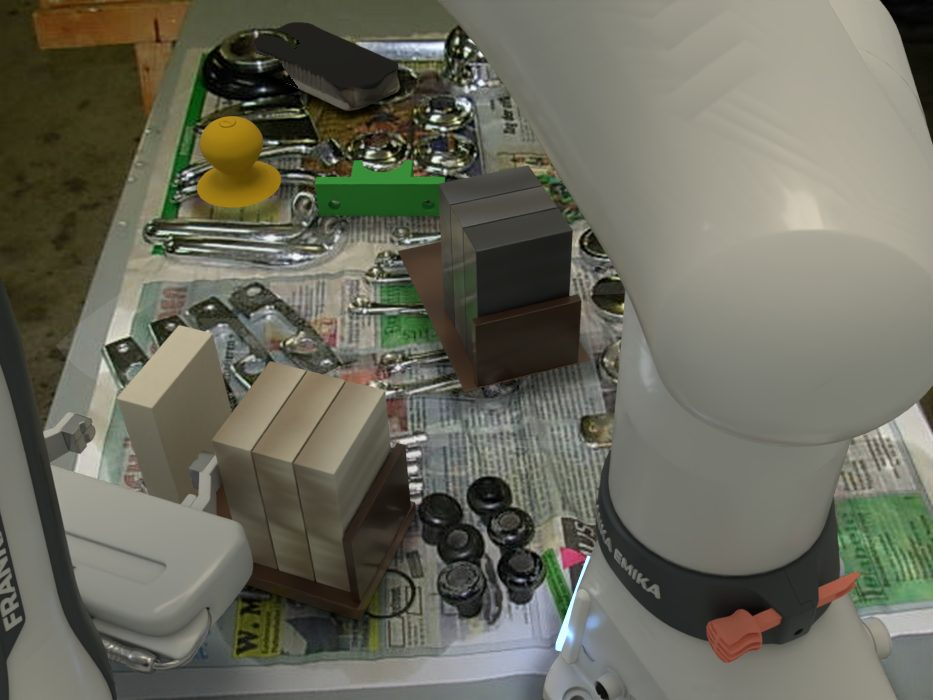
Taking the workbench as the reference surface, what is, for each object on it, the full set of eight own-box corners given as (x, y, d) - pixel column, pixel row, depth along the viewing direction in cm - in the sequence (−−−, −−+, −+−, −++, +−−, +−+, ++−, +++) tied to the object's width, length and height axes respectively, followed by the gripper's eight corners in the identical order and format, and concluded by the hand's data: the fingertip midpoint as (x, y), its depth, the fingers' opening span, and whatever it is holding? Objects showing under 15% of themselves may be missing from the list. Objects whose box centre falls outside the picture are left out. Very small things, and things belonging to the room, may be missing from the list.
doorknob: (238, 160, 107) (302, 185, 103) (179, 201, 102) (244, 228, 98) (224, 91, 102) (291, 114, 98) (162, 130, 97) (230, 156, 93)
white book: (241, 451, 77) (213, 333, 70) (188, 527, 72) (151, 408, 65) (210, 442, 78) (178, 324, 70) (155, 516, 73) (115, 398, 65)
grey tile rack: (590, 371, 84) (600, 234, 75) (464, 403, 82) (459, 265, 73) (509, 237, 97) (509, 107, 88) (398, 261, 94) (387, 130, 86)
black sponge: (248, 73, 119) (242, 42, 117) (307, 45, 124) (302, 13, 121) (353, 125, 111) (349, 92, 108) (412, 92, 116) (410, 60, 113)
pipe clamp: (448, 203, 101) (447, 159, 98) (446, 227, 98) (444, 184, 95) (325, 202, 101) (320, 159, 98) (320, 226, 98) (314, 183, 95)
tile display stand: (416, 513, 74) (405, 381, 66) (360, 621, 68) (340, 491, 60) (207, 454, 78) (172, 323, 70) (136, 551, 72) (89, 420, 64)
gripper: (161, 649, 53) (295, 447, 63) (-171, 533, 59) (-3, 364, 68) (186, 717, 57) (308, 519, 67) (-126, 603, 63) (27, 435, 72)
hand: (149, 440), depth 68 cm, fingers open, 8 cm apart
